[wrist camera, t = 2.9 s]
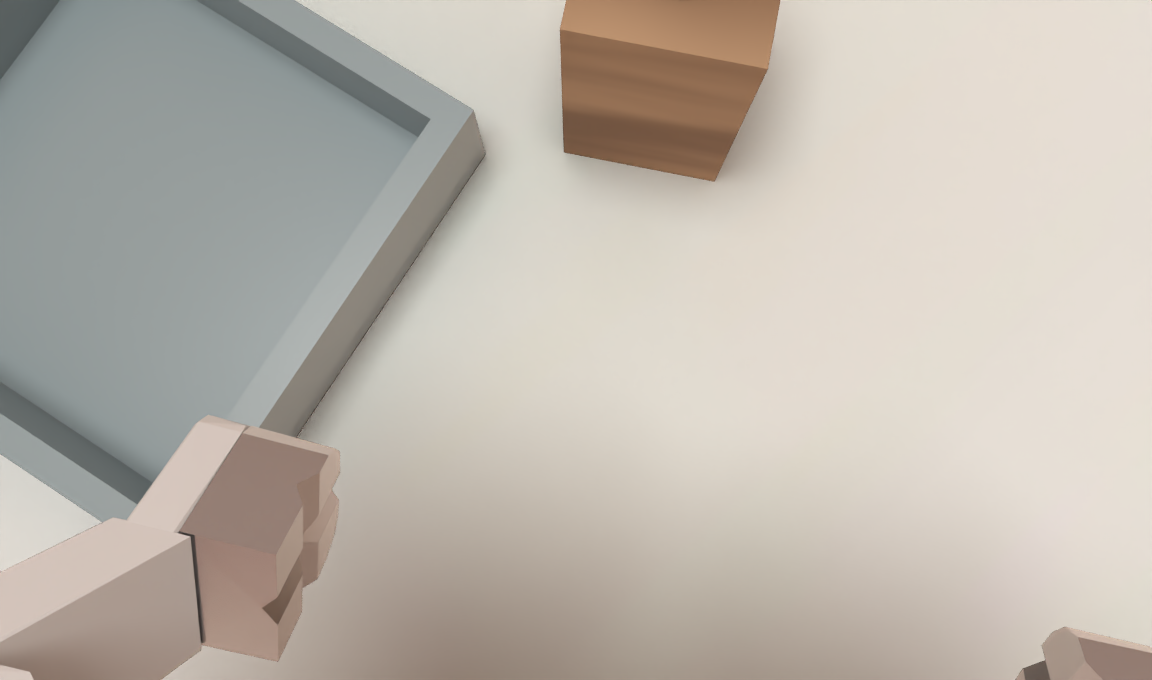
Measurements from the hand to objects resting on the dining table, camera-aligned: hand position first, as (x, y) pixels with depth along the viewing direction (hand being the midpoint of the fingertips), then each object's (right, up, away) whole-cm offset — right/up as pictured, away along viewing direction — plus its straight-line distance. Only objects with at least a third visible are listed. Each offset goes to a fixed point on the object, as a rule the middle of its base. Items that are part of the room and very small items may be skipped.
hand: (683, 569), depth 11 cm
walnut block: (+1, +10, +18) cm, 21 cm away
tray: (-13, +6, +17) cm, 23 cm away
